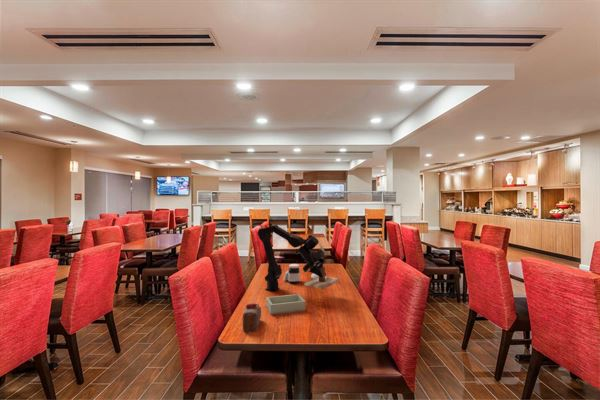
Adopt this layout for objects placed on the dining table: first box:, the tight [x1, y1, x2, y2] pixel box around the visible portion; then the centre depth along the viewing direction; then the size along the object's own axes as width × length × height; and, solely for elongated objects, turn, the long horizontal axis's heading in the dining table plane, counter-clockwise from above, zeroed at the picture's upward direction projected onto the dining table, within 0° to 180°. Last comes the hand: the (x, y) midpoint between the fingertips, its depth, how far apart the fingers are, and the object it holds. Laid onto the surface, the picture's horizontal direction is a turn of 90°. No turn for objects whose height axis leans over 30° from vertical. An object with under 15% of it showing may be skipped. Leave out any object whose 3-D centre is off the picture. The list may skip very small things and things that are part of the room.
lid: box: [303, 266, 340, 290], centre depth 175 cm, size 13×19×9 cm
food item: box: [241, 302, 262, 332], centre depth 141 cm, size 14×8×10 cm, turn 4°
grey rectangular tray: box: [265, 293, 306, 316], centre depth 161 cm, size 12×18×5 cm, turn 107°
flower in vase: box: [310, 242, 328, 279], centre depth 219 cm, size 13×11×25 cm
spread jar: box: [283, 263, 301, 284], centre depth 211 cm, size 12×11×12 cm
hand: (324, 276), depth 175 cm, fingers closed on lid, 4 cm apart
